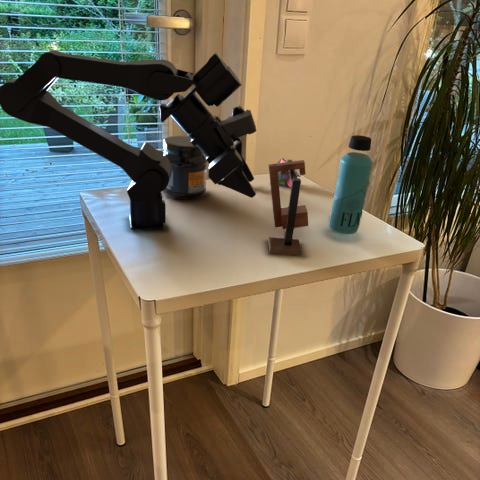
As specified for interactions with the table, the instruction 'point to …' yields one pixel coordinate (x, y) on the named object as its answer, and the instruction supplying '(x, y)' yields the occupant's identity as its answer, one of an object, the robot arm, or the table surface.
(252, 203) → the table surface
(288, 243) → the rack
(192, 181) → the supplement container
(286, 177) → the geometric puzzle
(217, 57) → the robot arm
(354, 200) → the beverage bottle
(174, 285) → the table surface
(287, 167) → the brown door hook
